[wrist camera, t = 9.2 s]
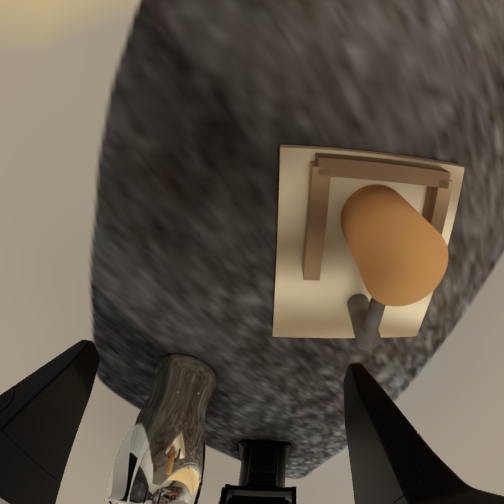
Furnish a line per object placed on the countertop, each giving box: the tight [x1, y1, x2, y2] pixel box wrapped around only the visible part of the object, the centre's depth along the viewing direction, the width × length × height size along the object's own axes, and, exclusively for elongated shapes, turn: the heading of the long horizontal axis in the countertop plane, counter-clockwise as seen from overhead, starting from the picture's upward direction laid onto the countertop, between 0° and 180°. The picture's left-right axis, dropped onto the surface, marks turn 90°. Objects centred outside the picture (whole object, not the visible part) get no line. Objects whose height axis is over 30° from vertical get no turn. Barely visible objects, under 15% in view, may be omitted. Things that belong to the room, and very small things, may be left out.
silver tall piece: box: [104, 354, 217, 504], centre depth 22 cm, size 7×7×15 cm
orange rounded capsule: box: [341, 184, 448, 307], centre depth 16 cm, size 4×4×6 cm
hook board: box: [273, 145, 464, 350], centre depth 18 cm, size 14×12×5 cm
